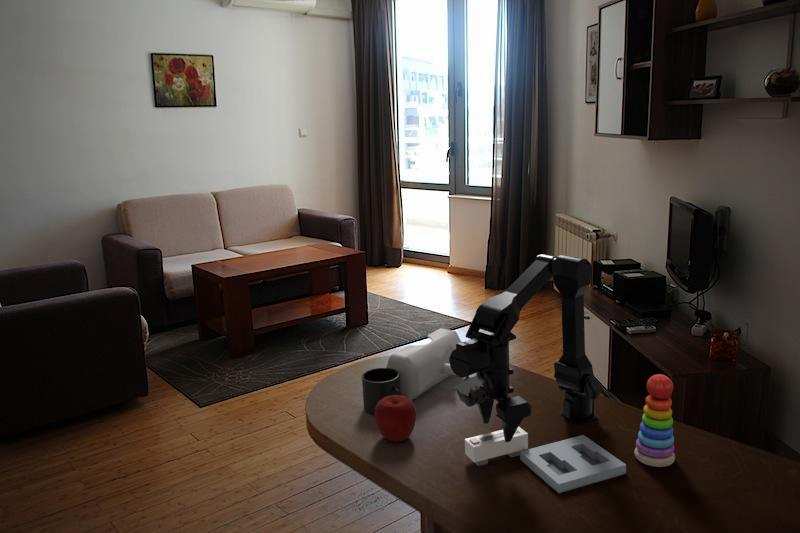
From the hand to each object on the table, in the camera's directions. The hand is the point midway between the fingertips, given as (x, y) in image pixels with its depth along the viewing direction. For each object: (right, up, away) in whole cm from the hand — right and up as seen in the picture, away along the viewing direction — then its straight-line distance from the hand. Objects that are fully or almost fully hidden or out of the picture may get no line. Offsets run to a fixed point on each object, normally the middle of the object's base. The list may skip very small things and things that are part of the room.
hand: (496, 432), depth 144 cm
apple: (-21, -5, +12) cm, 25 cm away
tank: (-12, +3, +40) cm, 42 cm away
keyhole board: (+15, -6, -4) cm, 17 cm away
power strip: (0, -6, +1) cm, 6 cm away
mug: (-24, -1, +27) cm, 36 cm away
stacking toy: (+33, -5, -2) cm, 33 cm away
